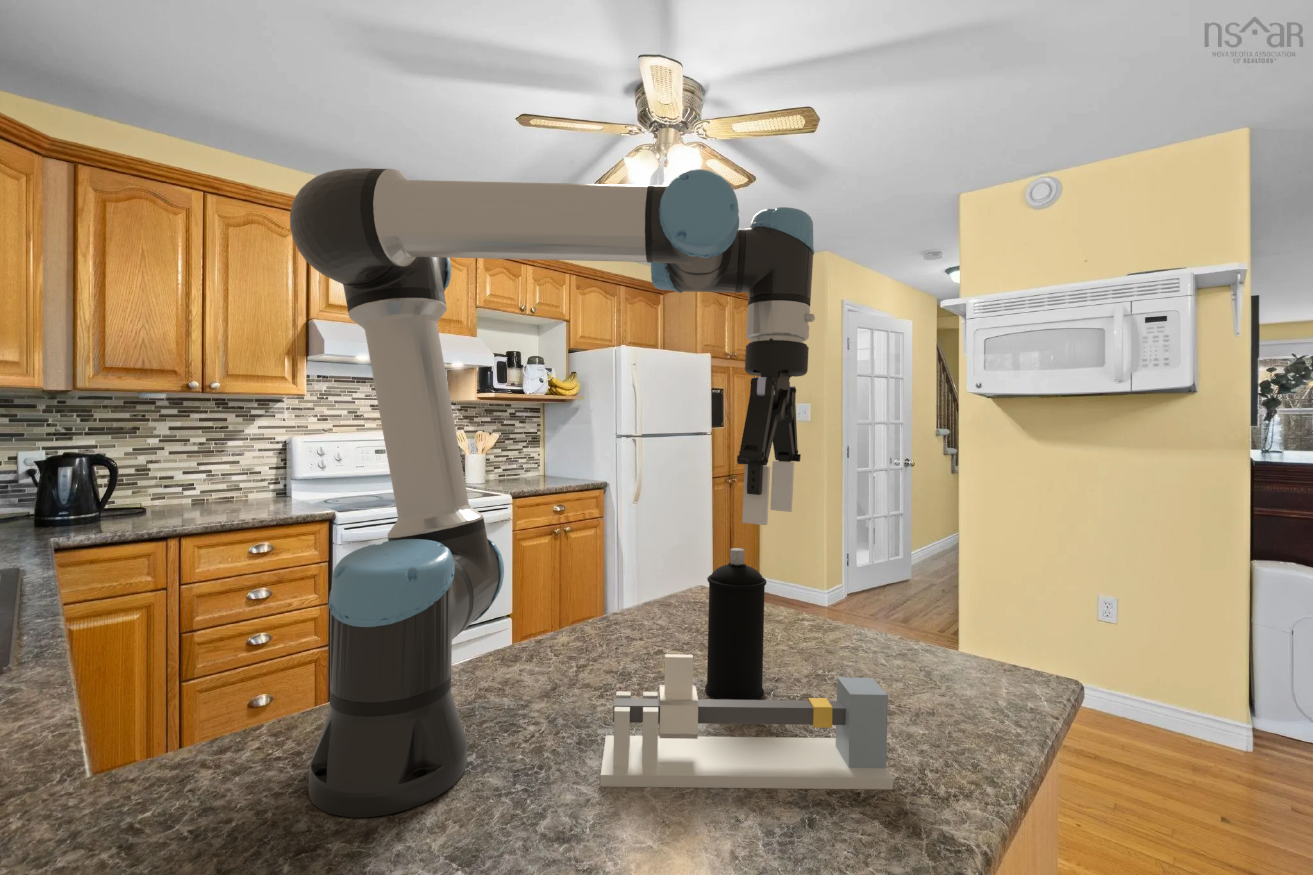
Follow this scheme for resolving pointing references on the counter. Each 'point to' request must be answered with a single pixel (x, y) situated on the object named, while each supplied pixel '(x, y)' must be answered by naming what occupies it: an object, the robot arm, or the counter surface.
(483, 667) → the counter surface
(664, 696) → the sleeve
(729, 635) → the aerosol can
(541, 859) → the counter surface
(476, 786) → the counter surface
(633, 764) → the grey rod on board
